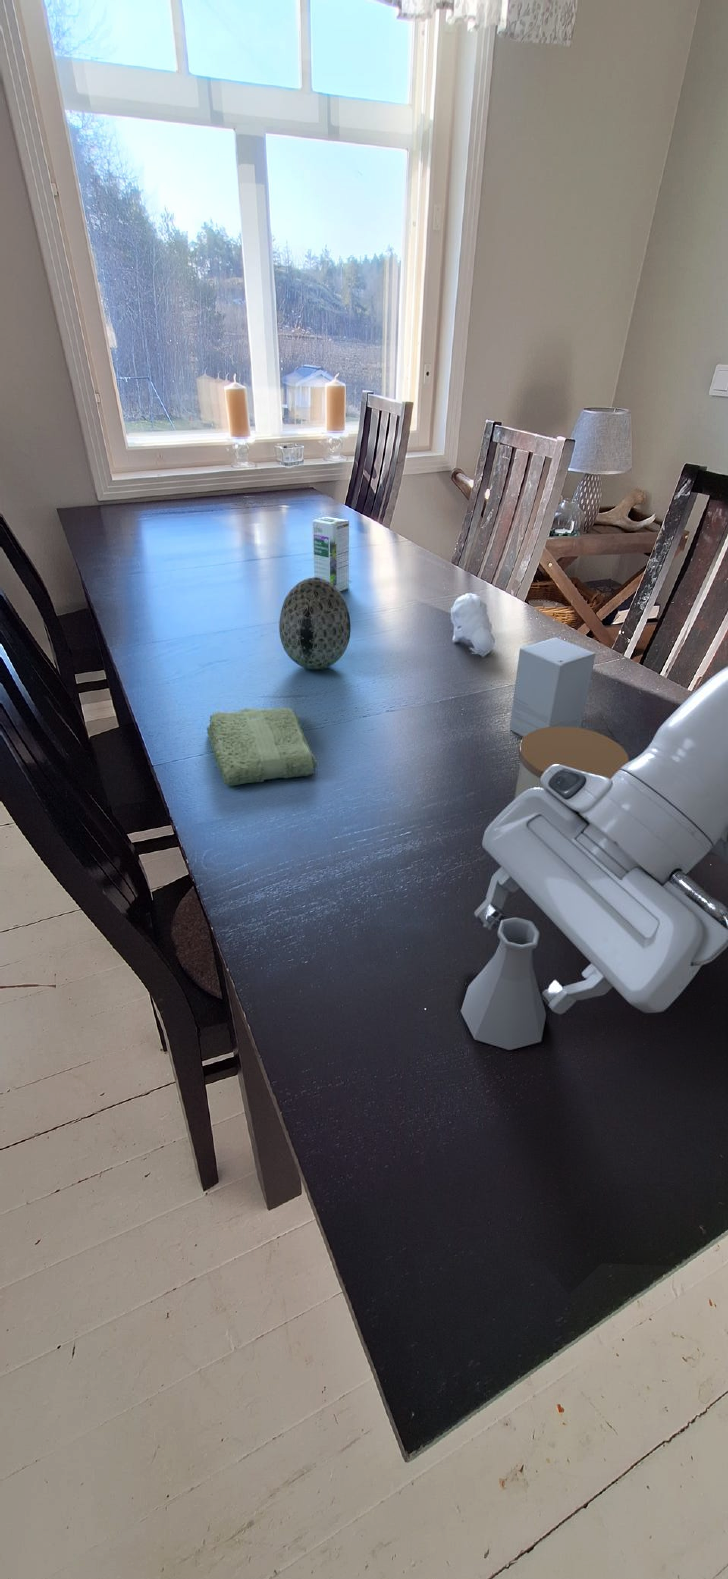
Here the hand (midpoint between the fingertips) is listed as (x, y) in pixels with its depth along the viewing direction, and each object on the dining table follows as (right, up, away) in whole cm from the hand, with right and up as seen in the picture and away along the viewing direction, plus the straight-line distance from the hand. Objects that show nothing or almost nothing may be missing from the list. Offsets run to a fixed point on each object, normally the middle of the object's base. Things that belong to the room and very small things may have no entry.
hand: (513, 961), depth 55 cm
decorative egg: (-20, +34, +62) cm, 74 cm away
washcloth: (-26, +19, +39) cm, 51 cm away
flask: (0, -6, +4) cm, 7 cm away
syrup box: (-19, +58, +96) cm, 114 cm away
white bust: (+8, +39, +70) cm, 81 cm away
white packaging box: (+14, +22, +44) cm, 51 cm away
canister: (+11, +10, +26) cm, 30 cm away
